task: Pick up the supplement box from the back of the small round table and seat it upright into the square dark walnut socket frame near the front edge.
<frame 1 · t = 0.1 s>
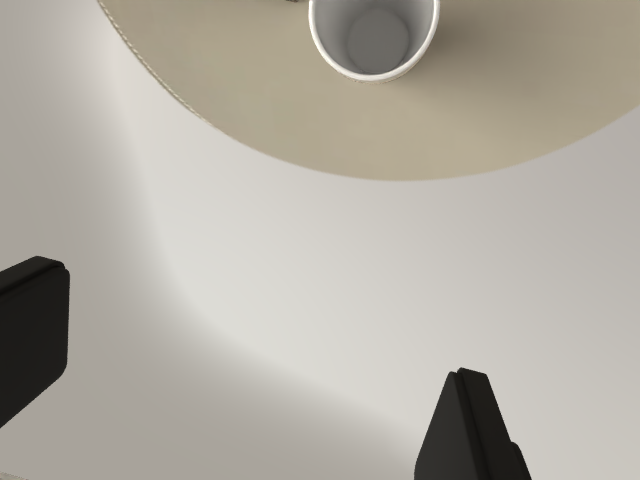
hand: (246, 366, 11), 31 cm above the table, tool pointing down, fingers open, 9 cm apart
drinking glass: (378, 44, 37), on the table
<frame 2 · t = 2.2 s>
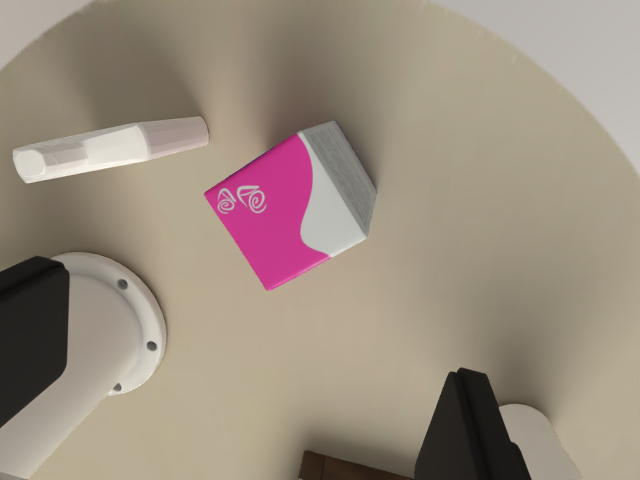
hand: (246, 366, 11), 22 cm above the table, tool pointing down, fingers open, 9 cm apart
supplement box: (321, 176, 31), on the table
drinking glass: (512, 427, 35), on the table
perfume bottle: (157, 139, 32), on the table
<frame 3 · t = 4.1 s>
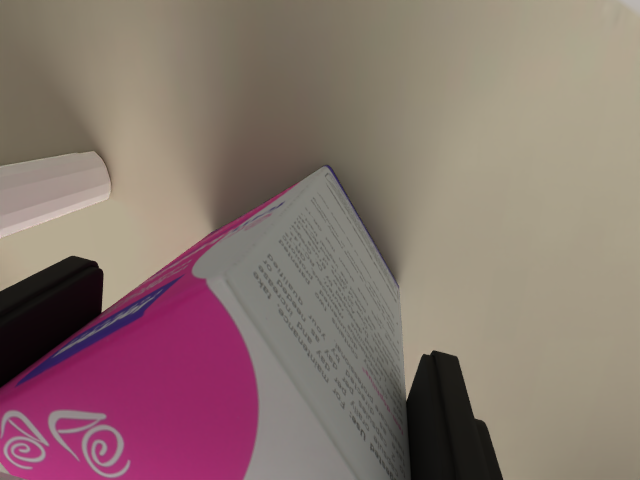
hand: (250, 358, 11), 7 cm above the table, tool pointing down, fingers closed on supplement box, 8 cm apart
supplement box: (302, 255, 18), on the table, touching gripper
perfume bottle: (28, 186, 19), on the table
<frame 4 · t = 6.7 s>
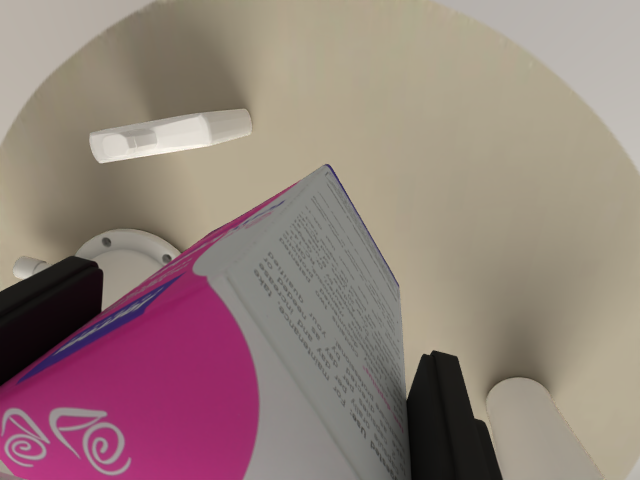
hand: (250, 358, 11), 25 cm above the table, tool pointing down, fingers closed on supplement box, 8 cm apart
supplement box: (302, 255, 18), point 18 cm above the table, touching gripper
drinking glass: (516, 399, 39), on the table
perfume bottle: (204, 128, 35), on the table
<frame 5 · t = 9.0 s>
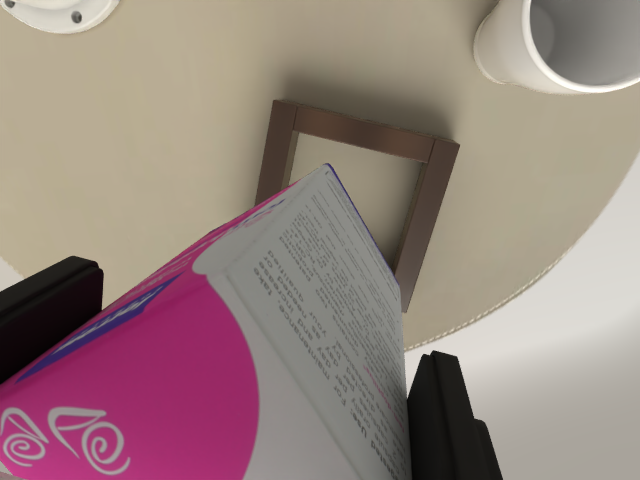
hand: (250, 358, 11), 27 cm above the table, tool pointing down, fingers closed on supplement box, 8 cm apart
supplement box: (302, 254, 18), point 19 cm above the table, touching gripper
drinking glass: (510, 45, 32), on the table
socket: (346, 203, 37), on the table
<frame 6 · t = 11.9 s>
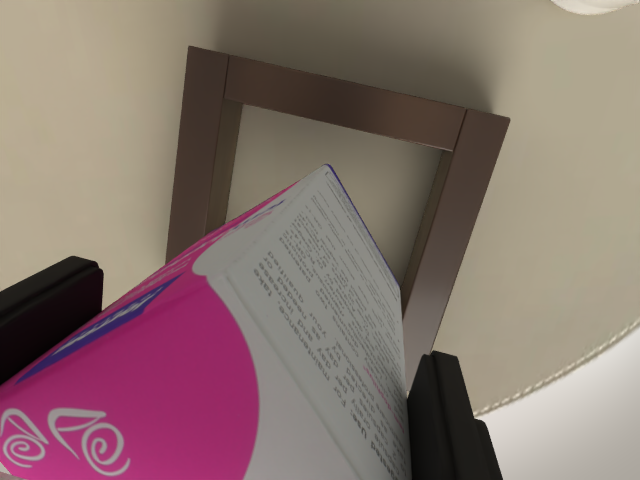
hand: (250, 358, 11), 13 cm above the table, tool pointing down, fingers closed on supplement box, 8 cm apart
supplement box: (302, 254, 18), point 6 cm above the table, touching gripper
socket: (321, 218, 23), on the table
when the fingers open (7 cm above the table, at t = 14.0 s): supplement box stays where it is, resting in socket.
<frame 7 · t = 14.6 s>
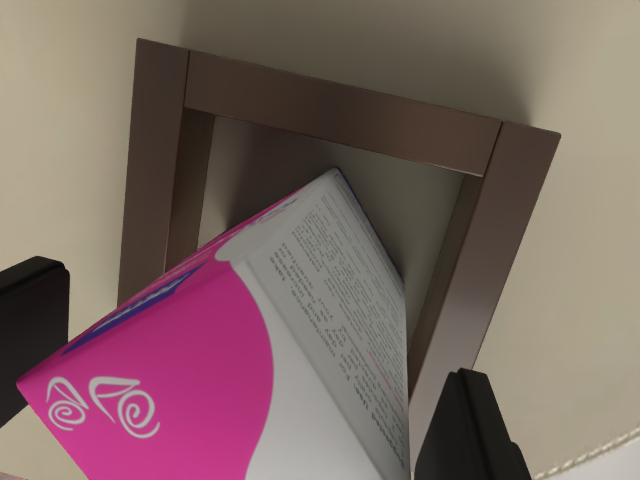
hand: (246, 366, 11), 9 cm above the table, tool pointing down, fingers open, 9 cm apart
supplement box: (312, 252, 19), resting in socket
socket: (312, 253, 19), on the table
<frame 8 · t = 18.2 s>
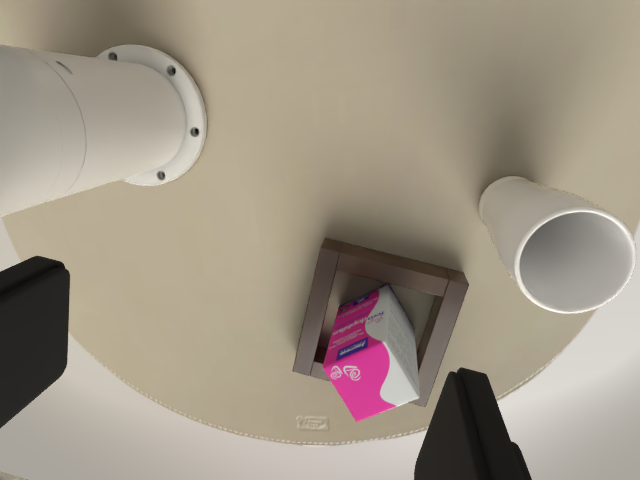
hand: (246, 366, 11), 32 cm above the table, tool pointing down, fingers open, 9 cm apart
supplement box: (375, 315, 45), resting in socket
drinking glass: (507, 204, 40), on the table
socket: (376, 316, 45), on the table
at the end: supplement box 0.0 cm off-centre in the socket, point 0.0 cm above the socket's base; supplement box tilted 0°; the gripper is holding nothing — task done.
